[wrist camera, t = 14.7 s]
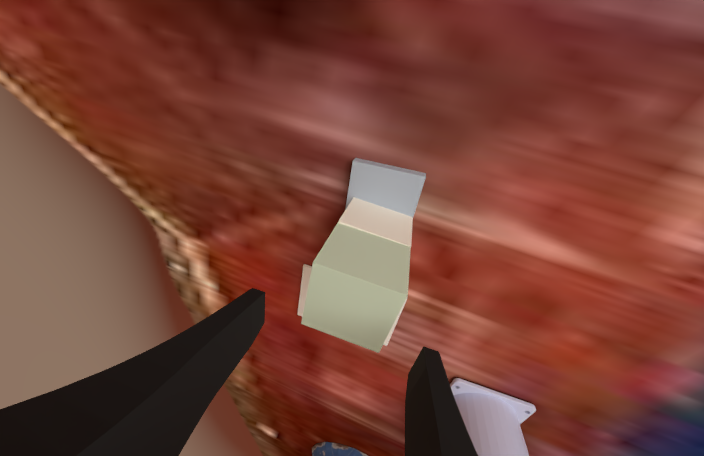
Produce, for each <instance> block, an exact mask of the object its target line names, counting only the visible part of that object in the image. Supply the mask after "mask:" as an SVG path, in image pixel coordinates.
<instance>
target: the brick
mask: <svg viewBox="0 0 704 456" xmlns="http://www.w3.org/2000/svg"><path fill="white" fill-rule="evenodd" d="M412 220H413V217H411V216H408V215H405V214H402V213H399V212H396V211H393V210H390V209H387V208H384V207H381V206H379V205H376V204H373V203H370V202H367V201H364V200H361V199H358V198H355V197H353V199H352V201H351V202H350V204H349V205H348V207H347V208H346V210H345V212H344V213H343V215H342V216H341V218H340V219H339V221H338V223H339V224H342V225H345V226H349V227H352V228H355V229H358V230H361V231H364V232H367V233H370V234H373V235H376V236H379V237H382V238H385V239H388V240H391V241H394V242H397V243H400V244H403V245H406V246H409V247H411V238H412Z"/></svg>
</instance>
